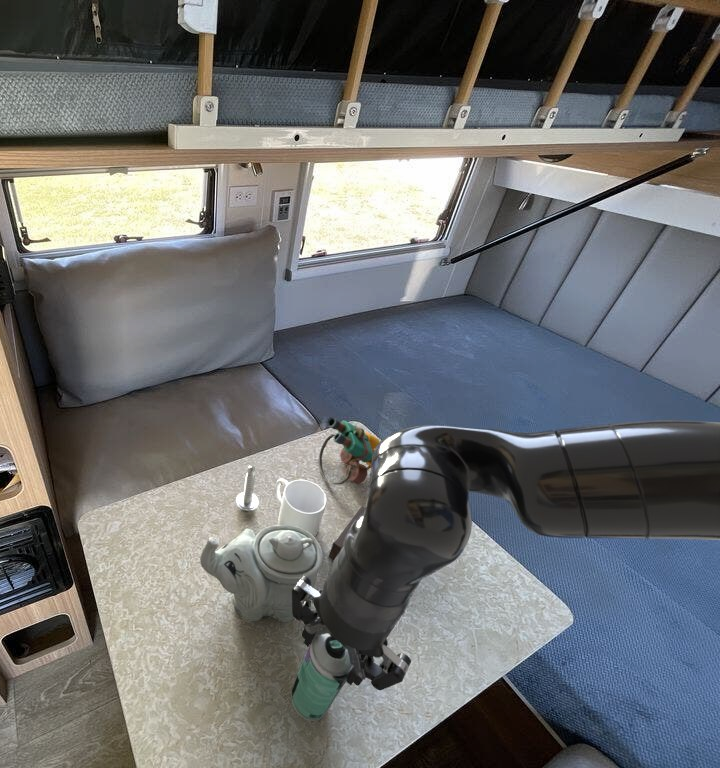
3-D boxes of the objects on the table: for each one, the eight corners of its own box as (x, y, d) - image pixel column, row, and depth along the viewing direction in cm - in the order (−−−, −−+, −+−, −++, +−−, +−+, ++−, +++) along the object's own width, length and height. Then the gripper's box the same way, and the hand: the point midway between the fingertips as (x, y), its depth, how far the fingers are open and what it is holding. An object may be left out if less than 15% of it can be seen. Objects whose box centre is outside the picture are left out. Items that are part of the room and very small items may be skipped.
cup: (296, 551, 80) (304, 521, 74) (258, 508, 88) (263, 478, 82) (325, 532, 84) (335, 501, 78) (286, 492, 92) (293, 462, 86)
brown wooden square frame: (411, 555, 80) (420, 541, 77) (386, 600, 73) (395, 586, 70) (356, 519, 87) (361, 504, 84) (328, 557, 79) (333, 542, 77)
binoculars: (349, 503, 94) (399, 467, 86) (303, 482, 90) (352, 441, 82) (335, 459, 105) (378, 423, 98) (293, 437, 101) (335, 398, 93)
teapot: (196, 597, 73) (197, 536, 61) (244, 539, 82) (253, 478, 71) (273, 665, 64) (291, 610, 53) (318, 592, 74) (340, 533, 63)
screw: (231, 503, 89) (249, 494, 91) (243, 519, 86) (261, 510, 88) (235, 463, 81) (254, 454, 83) (248, 479, 78) (268, 470, 80)
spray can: (335, 704, 60) (370, 649, 49) (309, 730, 58) (339, 679, 46) (309, 669, 64) (335, 610, 52) (283, 692, 61) (305, 635, 50)
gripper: (285, 571, 43) (267, 638, 53) (420, 680, 36) (370, 735, 46) (321, 527, 48) (298, 597, 58) (448, 615, 40) (396, 678, 50)
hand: (330, 657), depth 52 cm, fingers closed on spray can, 5 cm apart
